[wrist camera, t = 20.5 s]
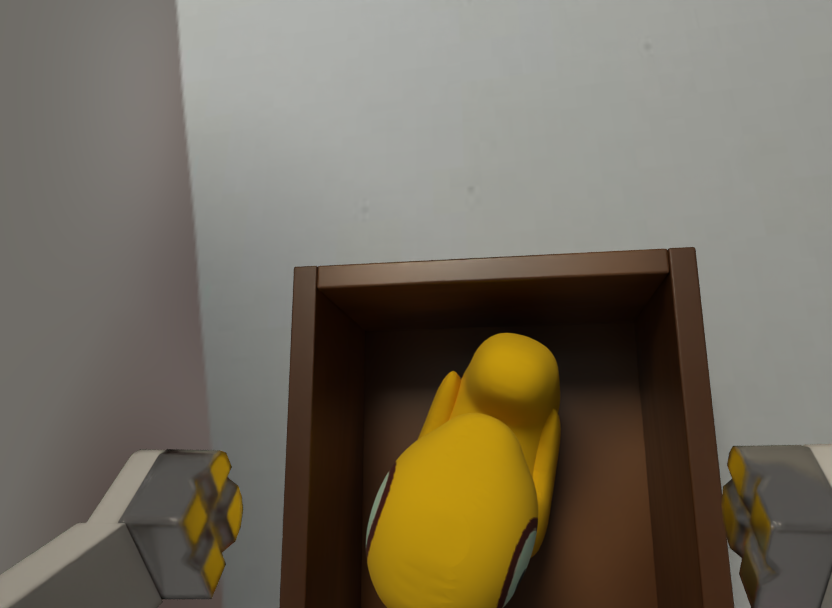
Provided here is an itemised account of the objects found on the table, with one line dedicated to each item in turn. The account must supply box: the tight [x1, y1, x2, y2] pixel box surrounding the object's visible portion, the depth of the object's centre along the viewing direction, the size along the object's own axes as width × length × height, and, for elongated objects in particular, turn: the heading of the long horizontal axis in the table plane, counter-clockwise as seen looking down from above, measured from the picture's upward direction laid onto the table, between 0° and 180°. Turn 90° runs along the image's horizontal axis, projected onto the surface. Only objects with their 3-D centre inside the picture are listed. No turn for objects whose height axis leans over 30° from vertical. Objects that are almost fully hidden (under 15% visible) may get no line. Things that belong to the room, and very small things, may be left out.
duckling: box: [366, 333, 561, 608], centre depth 21 cm, size 11×5×10 cm, turn 158°
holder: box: [280, 247, 734, 608], centre depth 23 cm, size 13×15×8 cm
